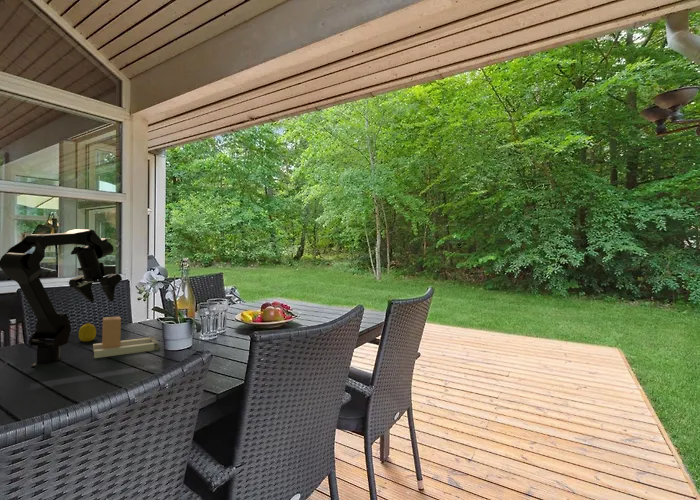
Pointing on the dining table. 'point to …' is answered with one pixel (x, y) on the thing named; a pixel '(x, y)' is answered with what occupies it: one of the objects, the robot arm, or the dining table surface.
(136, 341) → the chute
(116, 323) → the block
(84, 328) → the lemon
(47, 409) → the dining table surface
